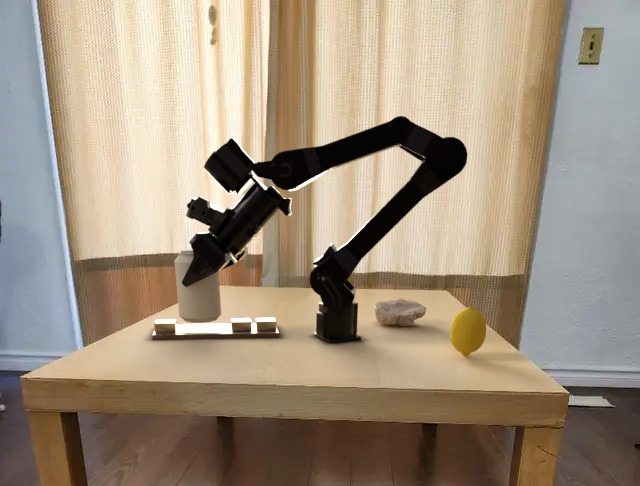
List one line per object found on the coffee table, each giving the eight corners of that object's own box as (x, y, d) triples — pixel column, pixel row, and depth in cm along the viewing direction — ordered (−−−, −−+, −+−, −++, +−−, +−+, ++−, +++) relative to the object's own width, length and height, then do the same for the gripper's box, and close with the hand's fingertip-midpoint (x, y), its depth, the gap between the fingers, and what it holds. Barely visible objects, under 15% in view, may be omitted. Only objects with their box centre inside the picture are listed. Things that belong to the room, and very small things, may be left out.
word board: (274, 326, 111) (274, 314, 110) (279, 337, 103) (278, 324, 102) (157, 328, 108) (156, 316, 107) (152, 339, 100) (151, 326, 99)
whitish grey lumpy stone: (434, 312, 112) (392, 293, 108) (418, 342, 114) (376, 324, 110) (416, 300, 120) (376, 282, 116) (402, 329, 122) (362, 312, 118)
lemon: (490, 358, 91) (496, 308, 89) (464, 362, 89) (470, 310, 86) (466, 350, 96) (471, 302, 93) (440, 354, 93) (445, 304, 90)
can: (172, 319, 104) (165, 250, 100) (208, 314, 109) (203, 248, 104) (192, 325, 99) (186, 253, 95) (229, 320, 104) (225, 250, 99)
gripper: (227, 180, 104) (173, 244, 109) (198, 177, 86) (135, 252, 91) (271, 227, 106) (216, 287, 111) (251, 232, 89) (187, 303, 94)
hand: (190, 282), depth 102 cm, fingers closed on can, 7 cm apart
